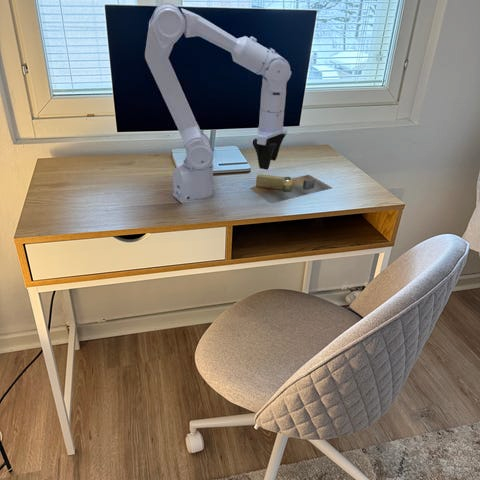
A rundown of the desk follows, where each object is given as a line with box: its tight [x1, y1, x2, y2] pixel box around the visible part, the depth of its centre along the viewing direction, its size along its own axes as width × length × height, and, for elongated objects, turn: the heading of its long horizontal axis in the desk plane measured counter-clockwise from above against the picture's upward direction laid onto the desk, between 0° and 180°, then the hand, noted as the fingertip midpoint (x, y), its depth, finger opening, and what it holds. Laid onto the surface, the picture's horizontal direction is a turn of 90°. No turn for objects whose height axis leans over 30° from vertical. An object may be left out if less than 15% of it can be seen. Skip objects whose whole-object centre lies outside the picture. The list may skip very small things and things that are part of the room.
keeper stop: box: [303, 177, 315, 190], centre depth 121 cm, size 3×1×2 cm, turn 122°
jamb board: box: [249, 174, 333, 204], centre depth 122 cm, size 20×10×1 cm, turn 122°
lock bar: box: [255, 173, 293, 191], centre depth 120 cm, size 9×3×3 cm, turn 77°
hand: (267, 164), depth 116 cm, fingers open, 6 cm apart
